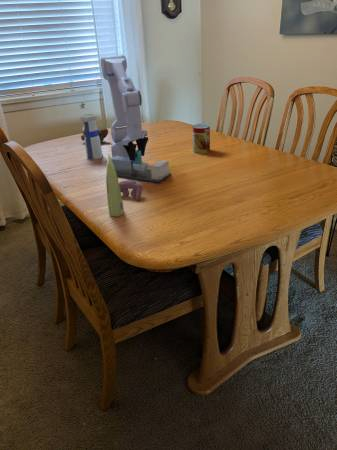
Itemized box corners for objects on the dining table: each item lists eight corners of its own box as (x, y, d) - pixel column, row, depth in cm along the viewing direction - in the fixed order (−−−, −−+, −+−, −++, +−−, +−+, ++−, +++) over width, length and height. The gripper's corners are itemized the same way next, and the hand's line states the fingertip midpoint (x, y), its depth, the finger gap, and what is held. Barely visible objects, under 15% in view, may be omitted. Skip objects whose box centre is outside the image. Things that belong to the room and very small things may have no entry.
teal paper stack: (113, 166, 158) (111, 148, 154) (117, 164, 160) (115, 146, 156) (144, 171, 150) (143, 153, 147) (148, 169, 152) (146, 151, 149)
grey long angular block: (107, 175, 157) (105, 160, 154) (121, 167, 164) (119, 153, 161) (158, 184, 145) (157, 168, 142) (171, 175, 152) (170, 160, 149)
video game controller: (143, 201, 136) (145, 181, 135) (138, 200, 131) (140, 180, 131) (118, 198, 139) (120, 179, 138) (112, 198, 134) (114, 178, 134)
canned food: (210, 153, 175) (210, 127, 169) (193, 154, 175) (193, 128, 169) (209, 148, 182) (209, 123, 176) (192, 149, 182) (192, 124, 176)
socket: (151, 178, 148) (150, 165, 145) (160, 173, 153) (159, 160, 150) (160, 180, 146) (159, 166, 143) (169, 174, 151) (168, 161, 148)
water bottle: (81, 159, 177) (72, 104, 165) (91, 153, 184) (83, 100, 172) (96, 160, 174) (88, 104, 163) (106, 154, 181) (99, 101, 169)
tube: (104, 214, 125) (96, 157, 115) (116, 208, 128) (108, 152, 119) (116, 218, 121) (108, 160, 112) (127, 212, 125) (121, 155, 115)
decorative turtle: (109, 144, 196) (106, 129, 192) (80, 148, 197) (77, 133, 193) (111, 138, 204) (108, 124, 200) (84, 141, 206) (81, 127, 201)
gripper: (131, 129, 137) (135, 164, 144) (152, 120, 148) (155, 153, 155) (116, 127, 141) (120, 162, 147) (138, 119, 151) (141, 151, 158)
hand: (137, 157), depth 151 cm, fingers open, 6 cm apart
